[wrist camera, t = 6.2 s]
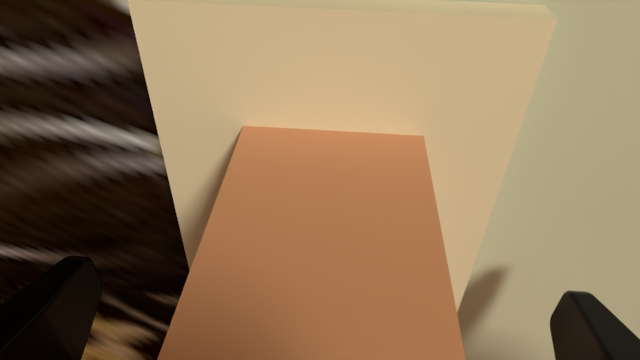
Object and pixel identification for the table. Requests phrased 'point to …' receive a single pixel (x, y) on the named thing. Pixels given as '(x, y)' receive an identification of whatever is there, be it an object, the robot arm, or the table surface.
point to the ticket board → (565, 189)
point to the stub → (333, 166)
